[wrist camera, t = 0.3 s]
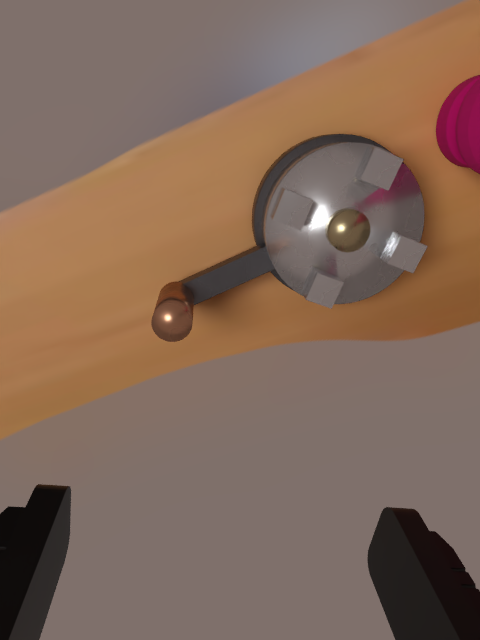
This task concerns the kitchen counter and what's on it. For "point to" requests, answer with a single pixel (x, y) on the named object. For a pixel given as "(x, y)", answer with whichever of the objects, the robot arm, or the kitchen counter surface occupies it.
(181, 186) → the kitchen counter surface
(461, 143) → the pepper mill
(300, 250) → the crank handle
